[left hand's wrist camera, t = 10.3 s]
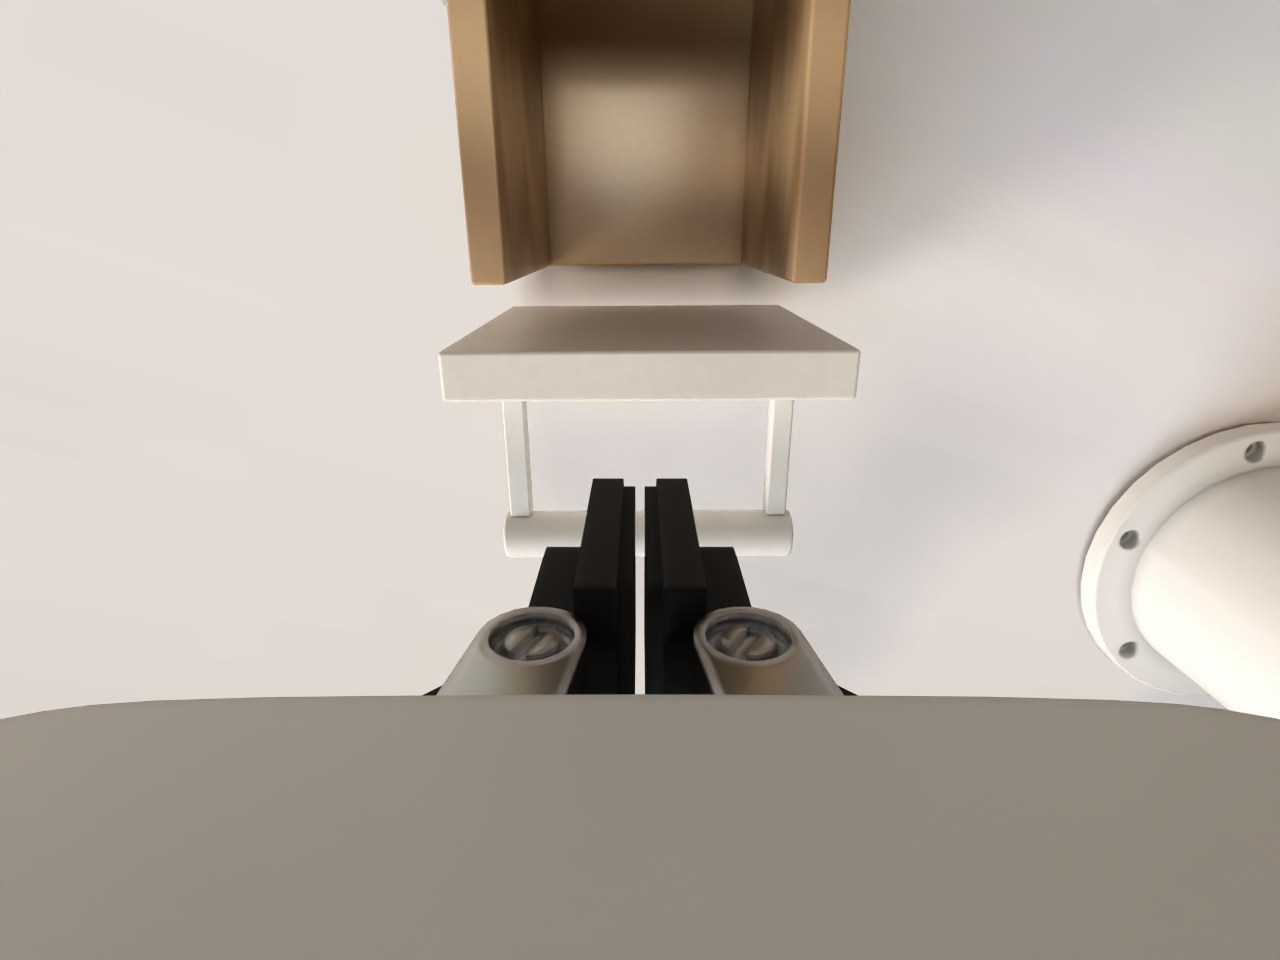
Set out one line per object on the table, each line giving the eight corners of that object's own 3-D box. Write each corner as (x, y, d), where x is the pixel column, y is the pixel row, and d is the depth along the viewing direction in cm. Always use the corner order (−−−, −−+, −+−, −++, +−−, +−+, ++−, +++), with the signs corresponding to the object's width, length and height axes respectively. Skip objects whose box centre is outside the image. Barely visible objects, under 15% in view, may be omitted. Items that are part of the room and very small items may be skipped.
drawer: (768, 481, 27) (833, 609, 18) (523, 482, 27) (465, 611, 18) (810, -170, 20) (954, -506, 11) (478, -168, 20) (342, -501, 11)
